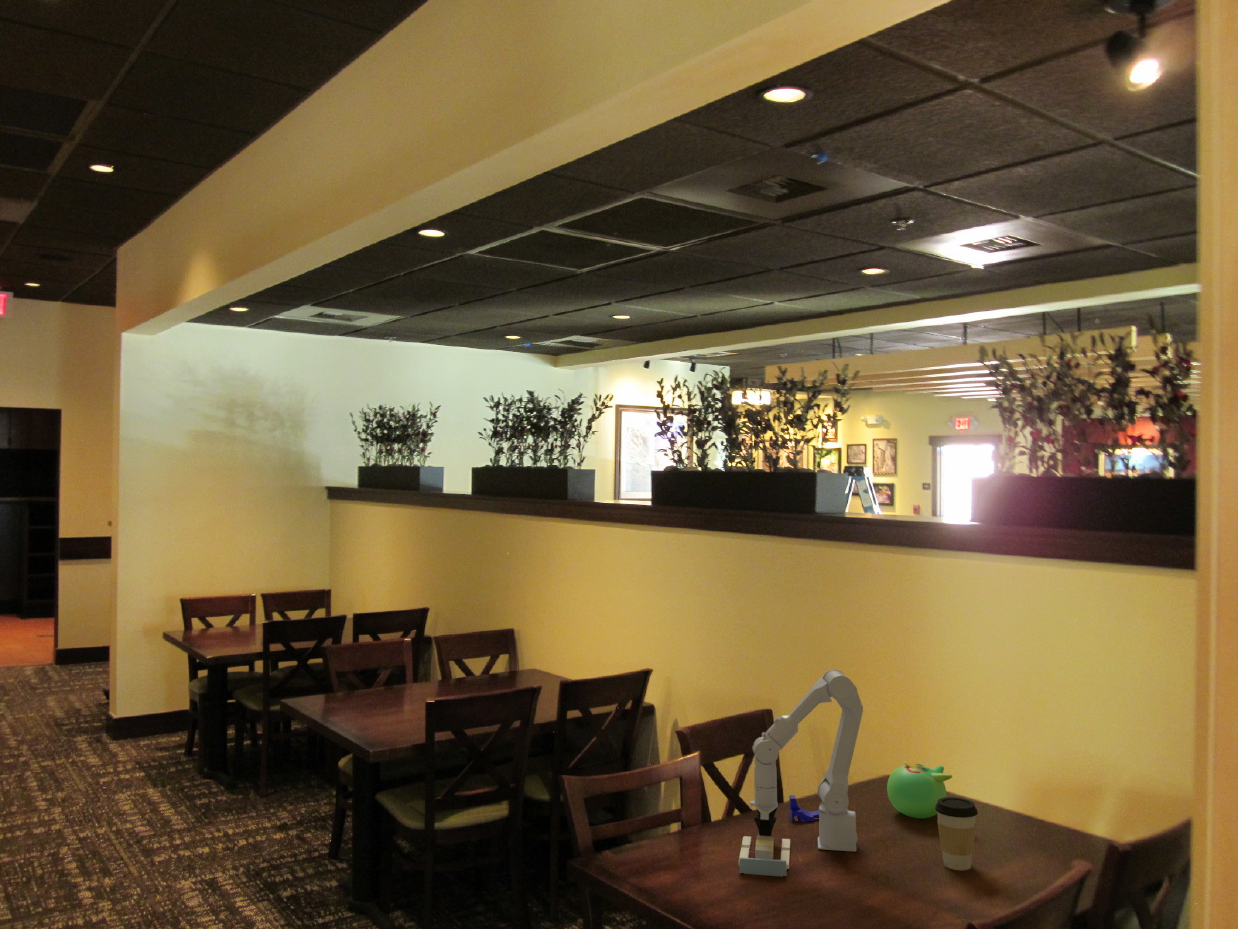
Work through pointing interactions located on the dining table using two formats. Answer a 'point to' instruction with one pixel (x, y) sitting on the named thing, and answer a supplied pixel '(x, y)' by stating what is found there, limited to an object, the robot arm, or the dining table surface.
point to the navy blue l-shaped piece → (800, 811)
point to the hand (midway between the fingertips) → (766, 838)
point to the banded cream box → (764, 847)
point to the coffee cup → (956, 831)
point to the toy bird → (917, 789)
